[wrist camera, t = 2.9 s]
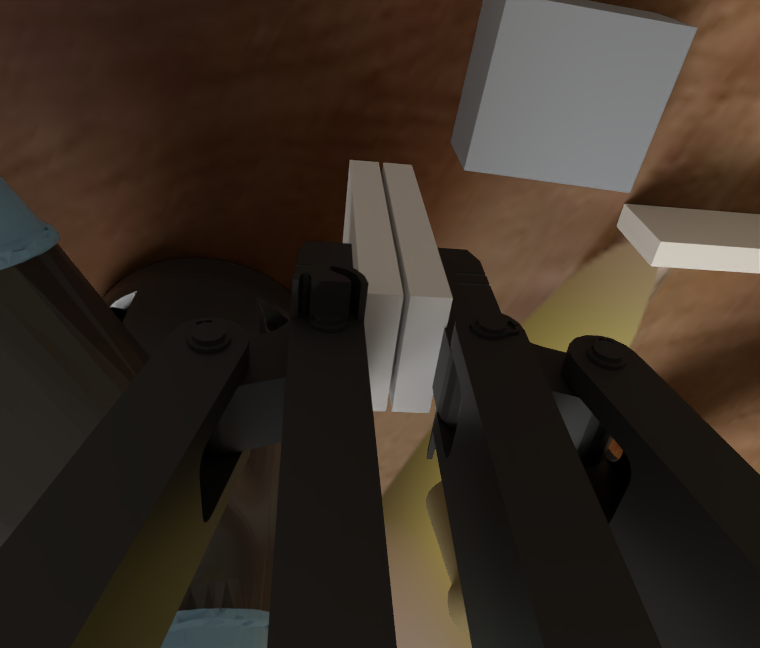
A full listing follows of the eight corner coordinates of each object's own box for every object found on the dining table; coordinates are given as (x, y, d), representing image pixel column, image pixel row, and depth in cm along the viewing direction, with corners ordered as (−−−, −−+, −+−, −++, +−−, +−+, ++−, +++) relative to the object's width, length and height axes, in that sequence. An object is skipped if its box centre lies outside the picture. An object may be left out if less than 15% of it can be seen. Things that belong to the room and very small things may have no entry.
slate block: (449, 140, 35) (464, 170, 31) (486, -20, 31) (508, -7, 27) (599, 162, 36) (629, 192, 33) (654, 12, 32) (697, 27, 28)
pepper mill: (509, 503, 53) (546, 629, 44) (447, 531, 54) (471, 658, 45) (477, 464, 50) (510, 590, 41) (412, 494, 51) (430, 622, 42)
